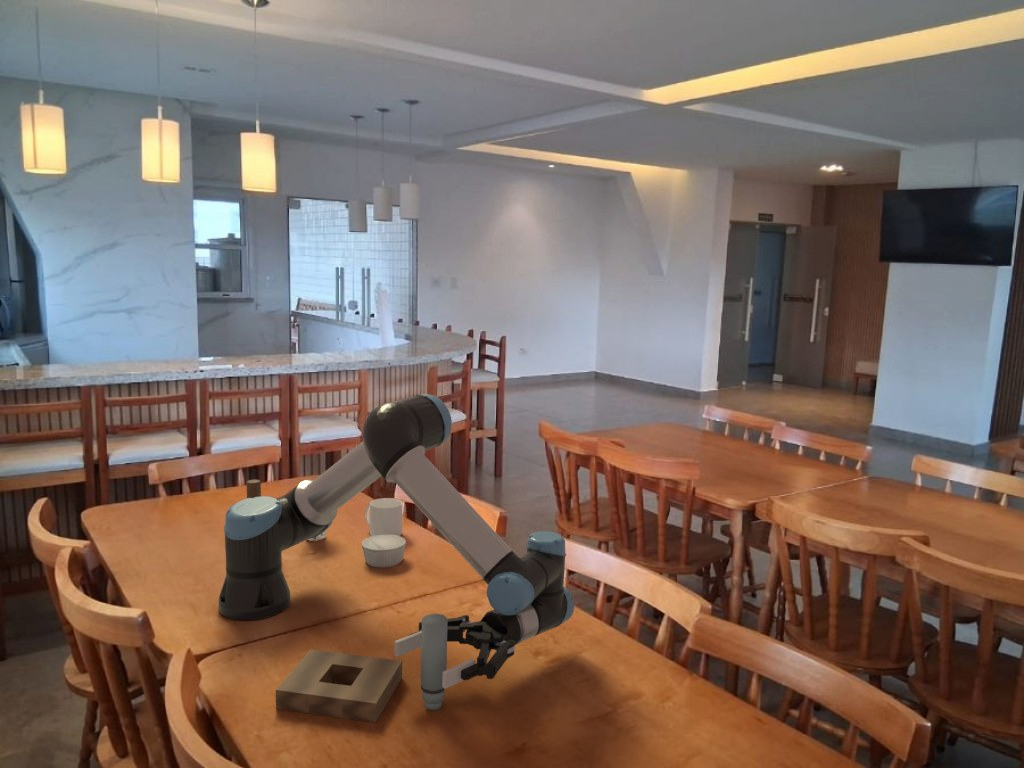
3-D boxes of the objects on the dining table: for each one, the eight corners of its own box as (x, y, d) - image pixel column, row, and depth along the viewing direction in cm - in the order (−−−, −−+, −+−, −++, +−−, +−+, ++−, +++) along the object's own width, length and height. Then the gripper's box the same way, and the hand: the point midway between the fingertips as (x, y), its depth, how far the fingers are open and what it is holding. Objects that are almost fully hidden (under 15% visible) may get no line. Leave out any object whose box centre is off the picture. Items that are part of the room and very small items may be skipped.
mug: (408, 534, 212) (409, 503, 211) (383, 542, 205) (383, 510, 204) (382, 524, 220) (382, 493, 219) (357, 531, 213) (357, 500, 212)
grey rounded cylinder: (417, 710, 129) (418, 624, 126) (424, 696, 133) (426, 612, 131) (442, 714, 128) (443, 627, 126) (448, 699, 133) (450, 615, 130)
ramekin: (353, 564, 190) (353, 545, 189) (376, 550, 200) (376, 531, 199) (391, 573, 186) (391, 552, 185) (413, 557, 196) (413, 538, 195)
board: (275, 708, 128) (275, 689, 128) (311, 666, 142) (311, 649, 141) (375, 722, 125) (375, 703, 125) (402, 678, 139) (402, 660, 138)
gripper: (556, 670, 134) (465, 717, 119) (465, 620, 151) (377, 656, 136) (557, 631, 132) (467, 673, 118) (466, 585, 150) (377, 617, 135)
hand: (418, 664), depth 127 cm, fingers open, 13 cm apart
